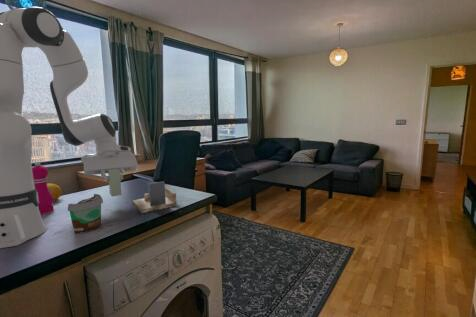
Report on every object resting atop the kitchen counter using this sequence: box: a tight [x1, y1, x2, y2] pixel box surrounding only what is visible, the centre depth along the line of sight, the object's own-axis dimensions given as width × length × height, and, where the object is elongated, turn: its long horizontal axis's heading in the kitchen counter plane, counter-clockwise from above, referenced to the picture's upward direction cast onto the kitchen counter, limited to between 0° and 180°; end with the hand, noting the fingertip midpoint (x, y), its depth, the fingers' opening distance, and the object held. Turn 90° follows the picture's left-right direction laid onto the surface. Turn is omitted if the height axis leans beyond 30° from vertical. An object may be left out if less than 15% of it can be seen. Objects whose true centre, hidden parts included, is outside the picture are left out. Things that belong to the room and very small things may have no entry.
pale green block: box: [107, 169, 122, 197], centre depth 109 cm, size 4×5×10 cm
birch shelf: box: [132, 186, 177, 214], centre depth 113 cm, size 14×14×6 cm
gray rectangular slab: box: [148, 181, 166, 206], centre depth 108 cm, size 6×1×9 cm, turn 124°
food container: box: [67, 193, 104, 234], centre depth 90 cm, size 12×6×10 cm, turn 168°
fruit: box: [47, 182, 62, 202], centre depth 120 cm, size 9×8×8 cm
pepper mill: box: [32, 161, 55, 215], centre depth 106 cm, size 7×7×20 cm
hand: (114, 180), depth 109 cm, fingers closed on pale green block, 4 cm apart
